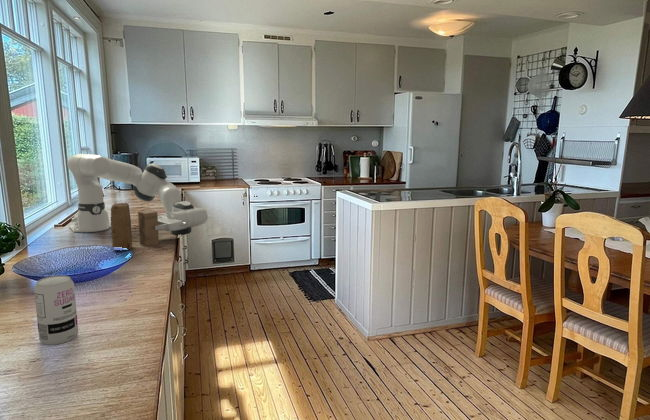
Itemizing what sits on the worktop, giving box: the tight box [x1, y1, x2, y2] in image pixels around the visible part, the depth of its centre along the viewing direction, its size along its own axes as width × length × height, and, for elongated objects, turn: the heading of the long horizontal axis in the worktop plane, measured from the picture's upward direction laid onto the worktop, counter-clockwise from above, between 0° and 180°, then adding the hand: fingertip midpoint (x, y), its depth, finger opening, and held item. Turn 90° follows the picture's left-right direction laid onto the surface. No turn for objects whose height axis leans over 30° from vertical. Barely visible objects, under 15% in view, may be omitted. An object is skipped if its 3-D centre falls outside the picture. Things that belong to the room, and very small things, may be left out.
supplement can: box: [33, 275, 79, 346], centre depth 103 cm, size 8×8×15 cm
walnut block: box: [137, 209, 160, 247], centre depth 193 cm, size 6×6×15 cm
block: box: [110, 202, 133, 250], centre depth 183 cm, size 11×8×20 cm
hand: (149, 226), depth 192 cm, fingers open, 8 cm apart
